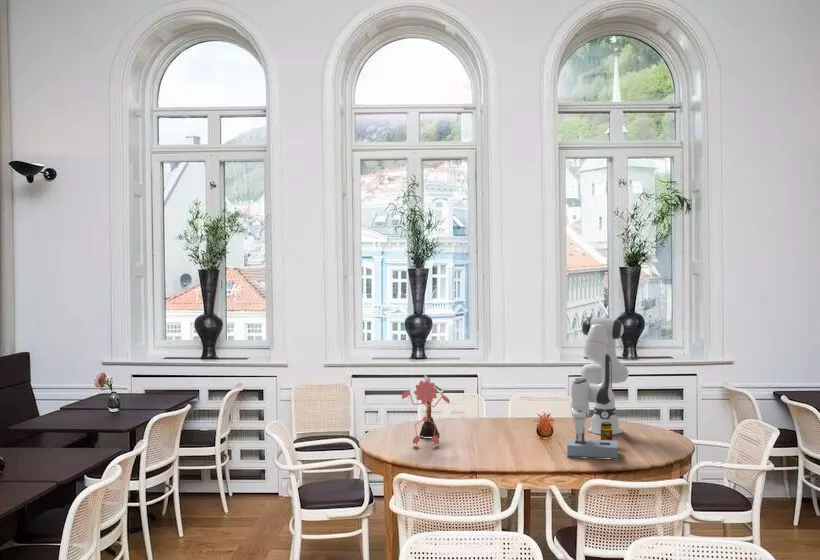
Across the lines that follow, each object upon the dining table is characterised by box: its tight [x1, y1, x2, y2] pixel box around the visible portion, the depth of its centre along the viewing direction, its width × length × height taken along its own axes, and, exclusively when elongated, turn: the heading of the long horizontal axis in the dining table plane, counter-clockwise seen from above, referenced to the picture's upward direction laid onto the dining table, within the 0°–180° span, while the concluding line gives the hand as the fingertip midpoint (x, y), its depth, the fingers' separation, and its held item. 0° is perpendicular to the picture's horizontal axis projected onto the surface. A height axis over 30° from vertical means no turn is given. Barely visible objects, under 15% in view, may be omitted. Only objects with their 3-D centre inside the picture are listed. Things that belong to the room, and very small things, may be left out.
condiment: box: [600, 422, 614, 441], centre depth 374 cm, size 7×8×12 cm
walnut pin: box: [575, 431, 585, 444], centre depth 358 cm, size 4×4×14 cm
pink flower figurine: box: [401, 380, 451, 447], centre depth 380 cm, size 15×26×35 cm, turn 83°
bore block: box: [566, 438, 619, 460], centre depth 356 cm, size 14×24×6 cm, turn 75°
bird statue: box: [418, 374, 444, 437], centre depth 399 cm, size 17×13×35 cm
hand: (580, 438), depth 358 cm, fingers open, 8 cm apart
